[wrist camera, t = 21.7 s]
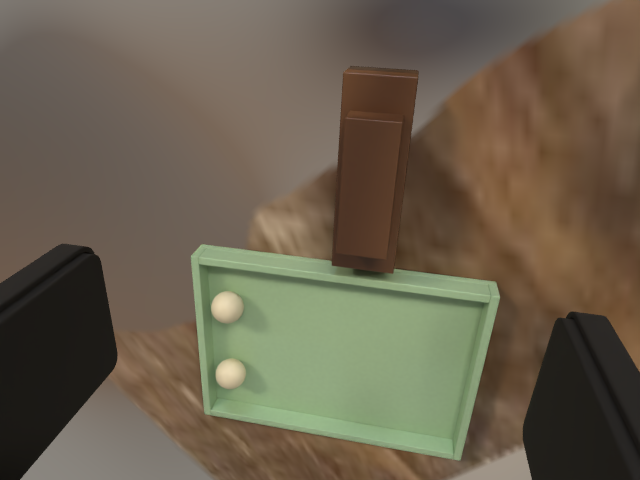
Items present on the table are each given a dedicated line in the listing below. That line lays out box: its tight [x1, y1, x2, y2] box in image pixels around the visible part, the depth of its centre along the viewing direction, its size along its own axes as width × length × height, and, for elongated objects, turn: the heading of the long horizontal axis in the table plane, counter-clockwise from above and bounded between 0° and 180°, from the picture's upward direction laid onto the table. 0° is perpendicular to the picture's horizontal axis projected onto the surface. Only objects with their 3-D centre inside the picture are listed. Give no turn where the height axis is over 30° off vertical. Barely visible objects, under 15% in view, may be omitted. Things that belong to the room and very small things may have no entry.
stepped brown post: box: [332, 66, 418, 274], centre depth 29 cm, size 4×12×5 cm, turn 177°
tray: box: [191, 244, 500, 461], centre depth 37 cm, size 21×15×2 cm
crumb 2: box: [215, 358, 246, 389], centre depth 39 cm, size 2×2×2 cm
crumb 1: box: [211, 291, 244, 324], centre depth 36 cm, size 2×2×2 cm
